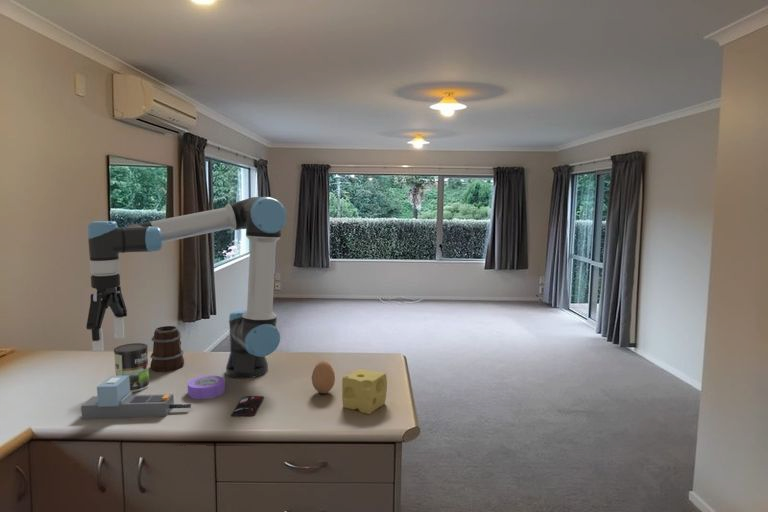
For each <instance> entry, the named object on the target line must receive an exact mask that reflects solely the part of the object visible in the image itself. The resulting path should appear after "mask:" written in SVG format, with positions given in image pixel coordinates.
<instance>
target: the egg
mask: <svg viewBox="0 0 768 512" xmlns="http://www.w3.org/2000/svg"><path fill="white" fill-rule="evenodd" d="M335 382H336V376H335V370H334V368H333V366H332V365H331V364H330V362H328V361H325V360H322V361H319V362H317V364H315V367H314V369H313V370H312V374H311V384H312V386H313V388H314V389H315V391H317V392H318V393H320V394H326V393H328V392H329V393H330V391H331V390H332V389H333V387H334V386H335V385H334V384H335Z"/></svg>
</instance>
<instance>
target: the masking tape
mask: <svg viewBox="0 0 768 512" xmlns="http://www.w3.org/2000/svg"><path fill="white" fill-rule="evenodd" d="M225 383H226V382H225V378H224V377H222V376H219V375H205V376H198V377H196V378H193V379H191V380H189V381H188V382H187V396H188V397H190V398H193V399H197V400H199V399H200V400H203V399H204V400H205V399H211V398H215V397H219V396H221V395H222V394H223V393H225V391H226V388H225V386H226V385H225Z"/></svg>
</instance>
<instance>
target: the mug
mask: <svg viewBox="0 0 768 512" xmlns="http://www.w3.org/2000/svg"><path fill="white" fill-rule="evenodd" d="M181 338H182V334H181V331H180V330H179V329H178V326H176V325H175V326H174V325H165V326H159V327H156V328H155V329H154V332H153V336H152V337H151V341H152V342H153V344H152V345H153V346H152V353H151V354H150V359H151V361H150V364H149V365H150V370H153V371H155V372H170V371H175V370H179V369H181V368H183V367H184V366H185V358H184V356H183V355H184V353H185V352H184V350H183V349H182V346H181V344H182V340H181Z"/></svg>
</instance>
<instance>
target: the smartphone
mask: <svg viewBox="0 0 768 512" xmlns="http://www.w3.org/2000/svg"><path fill="white" fill-rule="evenodd" d="M240 398H241V399H239V401H238V403H237V404H236V406H235V408H234V410H233V412H232V413H231V414H230V416H231V417H232V416H233V418H235V417H236V418H237V417H239V418H241V417H246V418H247V417H249V418H250V417H251V418H253V417H255V416H256V415H257V412H258V411H259V409H260V406H261V405H262V403H263V401H264V398H265V397H264V395H243V396H242V397H240Z"/></svg>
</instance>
